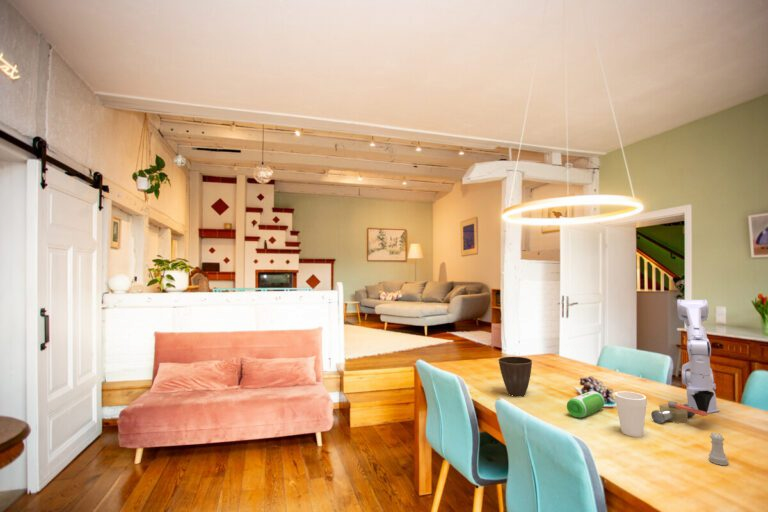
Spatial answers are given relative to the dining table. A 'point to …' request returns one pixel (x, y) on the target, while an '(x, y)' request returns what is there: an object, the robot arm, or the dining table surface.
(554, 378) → the dining table surface
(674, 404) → the lever
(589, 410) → the speaker
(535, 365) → the dining table surface
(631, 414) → the foam cup
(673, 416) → the valve body
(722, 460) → the rook chess piece
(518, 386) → the plant pot
